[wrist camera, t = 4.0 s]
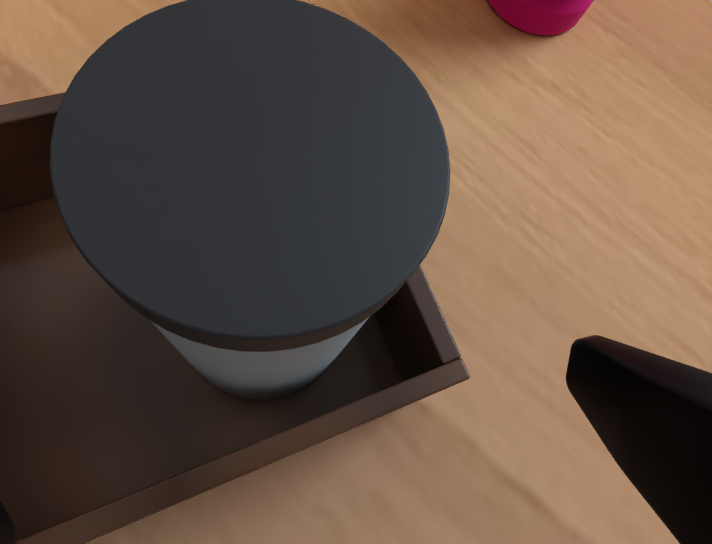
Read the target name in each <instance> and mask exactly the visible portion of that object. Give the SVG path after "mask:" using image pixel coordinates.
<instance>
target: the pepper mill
mask: <svg viewBox="0 0 712 544" xmlns="http://www.w3.org/2000/svg"><path fill="white" fill-rule="evenodd" d="M488 1H489V3H490V4H491V6H492V8H493V9H494V10H495V12H496V13H497V14H498V15H499V16H500V17H501V18H502V19H504V20H505V21H506V22H508V23H509V24H510V25H512V26H514V27H516V28H518V29H520V30H523V31H525V32H527V33H531V34H536V35H541V36H545V35H557V34H560V33H563V32H565V31H567V30H569V29H571V28H572V27H573V26H575V24H576V23H577V22H578V21H579V20H580V18H581V17H582V16H583V14H584V13H585V11H586V10H587V9H588V7H589V6H590V5H591V3H592V2H593V1H594V0H488Z"/></svg>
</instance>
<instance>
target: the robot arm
mask: <svg viewBox="0 0 712 544" xmlns="http://www.w3.org/2000/svg"><path fill="white" fill-rule="evenodd" d="M566 382H567V386H568V388H569V390H570V392H571V394H572V395H573V397H574V398H575V400H576V402H577V403H578V405H579V406H580V408H581V409H582V411H583V412H584V414H585V415H586V417H587V418H588V420H589V422H590V423H591V425H592V426H593V428H594V429H595V431H596V432H597V434H598V435H599V437H600V438H601V440H602V442H603V443H604V445H605V446H606V448H607V449H608V451H609V452H610V454H611V455H612V457H613V458H614V460H615V461H616V462H617V464H618V465H619V467H620V468H621V469H622V471H623V472H624V473H625V475H626V476H627V477H628V479H629V480H630V481H631V482H632V484H633V485H634V486H635V487H636V489H637V490H638V491H639V492H640V494H641V495H642V496H643V498H644V499H645V500H646V501H647V503H648V504H649V505H650V506H651V508H652V509H653V510H654V511H655V513H656V514H657V515H658V516H659V518H660V519H661V520H662V522H663V523H664V524H665V525H666V527H667V528H668V529H669V530H670V532H671V533H672V534H673V535H674V537H675V538H676V539H677V540H678V542H679V543H680V544H712V373H710V372H707V371H704V370H701V369H698V368H695V367H692V366H689V365H686V364H683V363H680V362H677V361H674V360H671V359H668V358H665V357H662V356H659V355H656V354H653V353H650V352H647V351H644V350H641V349H638V348H635V347H632V346H629V345H626V344H623V343H620V342H617V341H614V340H611V339H608V338H605V337H602V336H598V335H593V336H589V337H584V338H580V339H577V340H575V341H574V343H573V344H572V346H571V351H570V356H569V362H568V367H567V373H566ZM0 544H16V529H15V526H14V523H13V521H12V519H11V518H10V516H9V514H8V512H7V511H6V509H5V507H4V505H3V503H2V502H1V500H0Z"/></svg>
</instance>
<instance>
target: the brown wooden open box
mask: <svg viewBox="0 0 712 544" xmlns="http://www.w3.org/2000/svg"><path fill="white" fill-rule="evenodd" d="M65 93H66V92H65ZM65 93H60V94H55V95H50V96H45V97H40V98H35V99H30V100H25V101H20V102H15V103H10V104H5V105H0V500H1V502H2V503H3V505H4V507H5V509H6V511H7V512H8V514H9V516H10V518H11V519H12V521H13V523H14V526H15V529H16V544H84V543H86V542H89V541H91V540H93V539H96V538H98V537H100V536H103V535H105V534H107V533H110V532H112V531H114V530H117V529H119V528H121V527H124V526H126V525H128V524H131V523H133V522H135V521H138V520H140V519H142V518H145V517H147V516H149V515H152V514H154V513H156V512H159V511H161V510H163V509H166V508H168V507H170V506H173V505H175V504H177V503H180V502H182V501H184V500H187V499H189V498H191V497H194V496H196V495H198V494H201V493H203V492H206V491H208V490H210V489H213V488H215V487H217V486H220V485H222V484H224V483H227V482H229V481H231V480H234V479H236V478H238V477H241V476H243V475H245V474H248V473H250V472H252V471H255V470H257V469H259V468H262V467H264V466H266V465H269V464H271V463H273V462H276V461H278V460H280V459H283V458H285V457H287V456H290V455H292V454H294V453H297V452H299V451H301V450H304V449H306V448H308V447H311V446H313V445H315V444H318V443H320V442H322V441H325V440H327V439H329V438H332V437H334V436H336V435H339V434H341V433H343V432H346V431H348V430H350V429H353V428H355V427H357V426H360V425H362V424H364V423H367V422H369V421H371V420H374V419H376V418H378V417H381V416H383V415H385V414H388V413H390V412H392V411H395V410H397V409H399V408H402V407H404V406H406V405H409V404H411V403H414V402H416V401H418V400H421V399H423V398H425V397H428V396H430V395H432V394H435V393H437V392H439V391H442V390H444V389H446V388H449V387H451V386H453V385H456V384H458V383H460V382H463V381H465V380H467V379H469V378H470V375H469V373H468V371H467V369H466V366H465V364H464V362H463V360H462V359H461V358H460V357H461V355H460V353H459V350H458V348H457V346H456V344H455V341H454V339H453V337H452V335H451V333H450V330H449V328H448V326H447V324H446V322H445V319H444V317H443V315H442V313H441V310H440V308H439V306H438V304H437V302H436V299H435V297H434V295H433V293H432V290H431V288H430V286H429V284H428V282H427V279H426V277H425V275H424V273H423V271H422V268H421V266H420V265H419V266H418V267H417V269H416V270H415V271H414V273H413V274H412V275H411V276H410V278H409V279H408V280H407V281H406V282H405V283H404V285H403V286H402V287H401V288H400V289H399V290H398V291H397V293H396V294H395V295H394V296H393V297H392V298H391V299H390V300H389V301H388V302H387V303H386V304H385V305H384V306H383V307H382V308H380V309H379V310H378V311H376V312H375V313H374V314H372V315H371V316H370V317H369V318H368V319H367V321H366V322H365V323H364V324H363V325H362V327H361V328H360V329H359V330H358V331H357V333H356V334H355V335H354V336H353V338H352V339H351V340H350V341H349V342H348V344H347V345H346V346H345V347H344V348H343V350H342V351H341V352H340V353H339V355H338V356H337V357H336V358H335V359H334V361H333V362H332V363H331V364H330V365H329V367H328V368H327V369H326V370H325V371H324V372H323V373H322V374H321V375H320V376H319V377H318V378H317V379H316V380H315V381H313V382H312V383H311V384H309V385H308V386H306V387H305V388H303V389H301V390H299V391H297V392H295V393H292V394H290V395H287V396H283V397H279V398H274V399H267V400H254V399H247V398H241V397H238V396H234V395H231V394H229V393H226V392H224V391H222V390H220V389H218V388H217V387H215V386H213V385H212V384H210V383H209V382H208V381H207V380H205V379H204V378H203V377H202V376H201V375H200V374H199V373H198V372H197V371H196V370H195V368H194V367H193V366H192V365H191V364H190V363H189V362H188V361H187V360H186V359H185V358H184V357H183V355H182V354H181V353H180V352H179V351H178V350H177V349H176V348H175V347H174V346H173V345H172V344H171V342H170V341H169V340H168V339H167V338H166V337H165V336H164V335H163V334H162V333H161V332H160V331H159V329H158V328H157V327H156V326H155V325H154V324H153V323H152V322H151V321H150V320H148V319H146V318H145V317H143V316H142V315H141V314H140V313H138V312H137V311H136V310H135V309H133V308H132V307H131V306H130V305H128V304H127V303H126V302H125V301H124V300H123V299H122V298H121V297H120V296H119V295H118V294H117V293H116V292H115V291H114V290H113V289H112V288H111V287H110V286H109V285H108V284H107V283H106V282H105V281H104V280H103V279H102V278H101V277H100V276H99V275H98V273H97V272H96V271H95V270H94V269H93V268H92V267H91V266H90V265H89V264H88V263H87V262H86V260H85V259H84V257H83V256H82V254H81V253H80V251H79V250H78V248H77V247H76V246H75V244H74V243H73V241H72V240H71V238H70V236H69V234H68V231H67V229H66V227H65V225H64V223H63V221H62V219H61V217H60V214H59V211H58V207H57V204H56V201H55V197H54V194H53V189H52V181H51V173H50V146H51V138H52V133H53V128H54V123H55V118H56V115H57V113H58V110H59V107H60V105H61V102H62V99H63V97H64V95H65Z"/></svg>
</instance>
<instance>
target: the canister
mask: <svg viewBox="0 0 712 544" xmlns="http://www.w3.org/2000/svg"><path fill="white" fill-rule="evenodd" d="M50 173H51V181H52V189H53V194H54V197H55V201H56V204H57V207H58V211H59V214H60V217H61V219H62V221H63V223H64V225H65V227H66V229H67V231H68V234H69V236H70V238H71V240H72V241H73V243H74V244H75V246H76V247H77V248H78V250H79V251H80V253H81V254H82V256H83V257H84V259H85V260H86V262H87V263H88V264H89V265H90V266H91V267H92V268H93V269H94V270H95V271H96V272H97V273H98V275H99V276H100V277H101V278H102V279H103V280H104V281H105V282H106V283H107V284H108V285H109V286H110V287H111V288H112V289H113V290H114V291H115V292H116V293H117V294H118V295H119V296H120V297H121V298H122V299H123V300H124V301H125V302H126V303H127V304H128V305H130V306H131V307H132V308H133V309H135V310H136V311H137V312H138V313H140V314H141V315H142V316H143V317H145V318H146V319H148V320H150V321H151V322H152V323H153V324H154V325H155V326H156V327H157V328H158V329H159V331H160V332H161V333H162V334H163V335H164V336H165V337H166V338H167V339H168V340H169V341H170V342H171V344H172V345H173V346H174V347H175V348H176V349H177V350H178V351H179V352H180V353H181V354H182V355H183V357H184V358H185V359H186V360H187V361H188V362H189V363H190V364H191V365H192V366H193V367H194V368H195V370H196V371H197V372H198V373H199V374H200V375H201V376H202V377H203V378H204V379H205V380H207V381H208V382H209V383H210V384H212V385H213V386H215V387H217V388H218V389H220V390H222V391H224V392H226V393H229V394H231V395H234V396H238V397H241V398H247V399H254V400H267V399H274V398H279V397H283V396H287V395H290V394H292V393H295V392H297V391H299V390H301V389H303V388H305V387H306V386H308V385H309V384H311V383H312V382H313V381H315V380H316V379H317V378H318V377H319V376H320V375H321V374H322V373H323V372H324V371H325V370H326V369H327V368H328V367H329V365H330V364H331V363H332V362H333V361H334V359H335V358H336V357H337V356H338V355H339V353H340V352H341V351H342V350H343V348H344V347H345V346H346V345H347V344H348V342H349V341H350V340H351V339H352V338H353V336H354V335H355V334H356V333H357V331H358V330H359V329H360V328H361V327H362V325H363V324H364V323H365V322H366V321H367V319H368V318H369V317H370V316H371V315H372V314H374V313H375V312H376V311H378V310H379V309H380V308H382V307H383V306H384V305H385V304H386V303H387V302H388V301H389V300H390V299H391V298H392V297H393V296H394V295H395V294H396V293H397V291H398V290H399V289H400V288H401V287H402V286H403V285H404V283H405V282H406V281H407V280H408V279H409V278H410V276H411V275H412V274H413V273H414V271H415V270H416V269H417V267H418V266H419V265H420V263H421V262H422V261H423V259H424V258H425V257H426V255H427V253H428V252H429V250H430V248H431V246H432V244H433V242H434V241H435V239H436V237H437V235H438V232H439V229H440V226H441V224H442V221H443V218H444V215H445V211H446V206H447V201H448V196H449V185H450V164H449V152H448V146H447V142H446V138H445V133H444V129H443V126H442V124H441V121H440V118H439V116H438V113H437V110H436V108H435V106H434V104H433V103H432V101H431V99H430V97H429V95H428V93H427V91H426V90H425V88H424V87H423V85H422V84H421V83H420V81H419V80H418V78H417V77H416V75H415V74H414V73H413V72H412V70H411V69H410V68H409V67H408V66H407V65H406V64H405V62H404V61H403V60H402V59H401V58H400V57H399V56H398V55H397V54H396V53H395V52H394V51H392V50H391V49H390V48H389V47H388V46H387V45H386V44H385V43H383V42H382V41H381V40H379V39H378V38H377V37H375V36H374V35H372V34H371V33H370V32H368V31H367V30H365V29H364V28H362V27H360V26H359V25H357V24H355V23H353V22H352V21H350V20H348V19H346V18H344V17H342V16H340V15H337V14H335V13H333V12H331V11H329V10H326V9H323V8H320V7H317V6H314V5H311V4H308V3H305V2H301V1H297V0H186V1H183V2H180V3H176V4H173V5H169V6H166V7H164V8H162V9H159V10H157V11H154V12H152V13H150V14H147V15H145V16H143V17H142V18H140V19H138V20H136V21H134V22H133V23H131V24H129V25H127V26H126V27H124V28H123V29H121V30H120V31H119V32H117V33H116V34H115V35H113V36H112V37H111V38H109V39H108V40H107V41H106V42H105V43H104V44H103V45H101V46H100V47H99V48H98V49H97V50H96V51H95V52H94V53H93V54H92V55H91V56H90V57H89V58H88V60H87V61H86V62H85V64H84V65H83V66H82V67H81V69H80V70H79V71H78V73H77V74H76V75H75V77H74V79H73V80H72V82H71V84H70V86H69V88H68V89H67V91H66V93H65V95H64V97H63V99H62V102H61V105H60V107H59V110H58V113H57V115H56V118H55V123H54V128H53V133H52V138H51V146H50Z"/></svg>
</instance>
